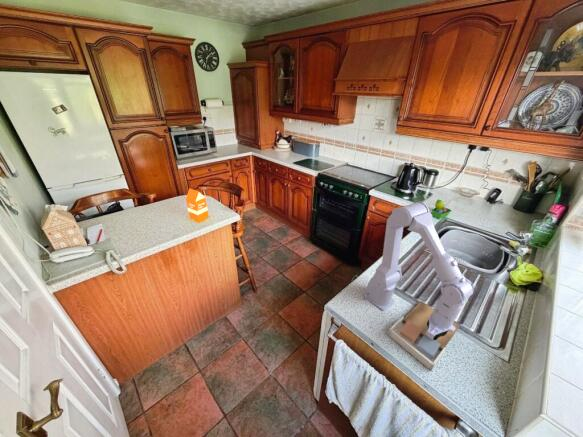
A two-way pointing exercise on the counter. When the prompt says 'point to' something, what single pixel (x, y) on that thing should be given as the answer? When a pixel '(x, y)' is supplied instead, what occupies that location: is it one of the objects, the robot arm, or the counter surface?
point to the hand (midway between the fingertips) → (431, 338)
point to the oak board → (421, 318)
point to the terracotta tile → (411, 331)
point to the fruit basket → (440, 210)
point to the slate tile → (428, 346)
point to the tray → (413, 346)
